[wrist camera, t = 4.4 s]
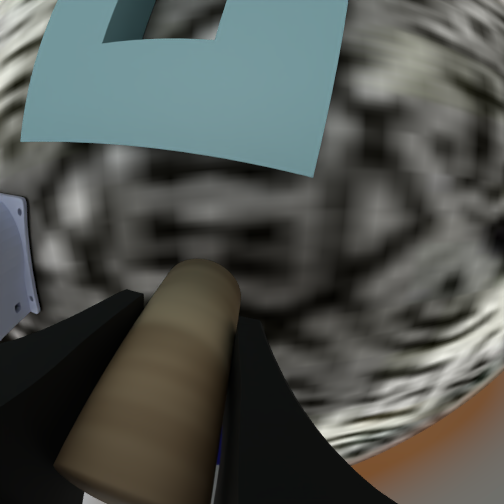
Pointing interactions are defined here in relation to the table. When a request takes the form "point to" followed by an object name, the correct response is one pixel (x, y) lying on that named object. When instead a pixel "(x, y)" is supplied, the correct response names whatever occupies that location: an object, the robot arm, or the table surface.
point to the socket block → (190, 81)
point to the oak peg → (161, 397)
